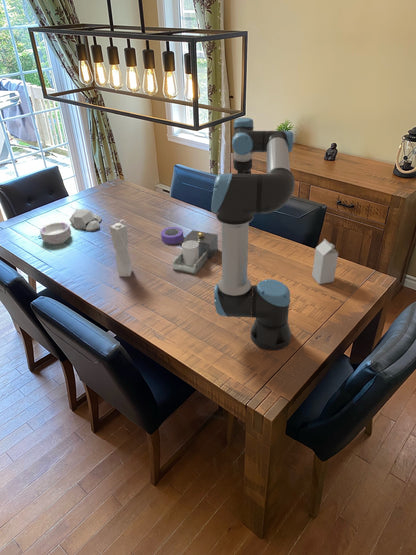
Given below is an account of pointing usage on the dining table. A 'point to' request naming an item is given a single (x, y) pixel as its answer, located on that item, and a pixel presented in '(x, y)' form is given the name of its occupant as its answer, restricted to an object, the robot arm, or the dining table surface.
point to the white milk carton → (325, 263)
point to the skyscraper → (121, 248)
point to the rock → (85, 220)
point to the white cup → (190, 252)
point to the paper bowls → (55, 233)
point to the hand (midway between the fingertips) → (242, 207)
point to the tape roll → (176, 235)
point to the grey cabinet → (206, 251)
